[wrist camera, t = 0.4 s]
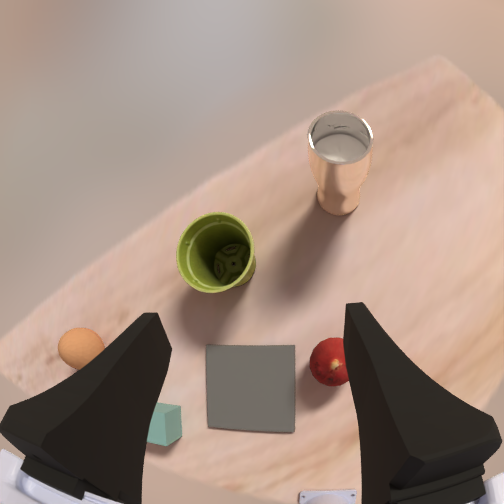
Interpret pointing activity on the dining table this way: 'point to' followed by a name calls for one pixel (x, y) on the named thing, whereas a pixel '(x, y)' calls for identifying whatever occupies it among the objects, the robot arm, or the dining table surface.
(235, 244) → the plant pot
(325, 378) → the onion
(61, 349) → the egg
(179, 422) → the cube
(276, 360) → the mat
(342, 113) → the beer glass
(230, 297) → the dining table surface
